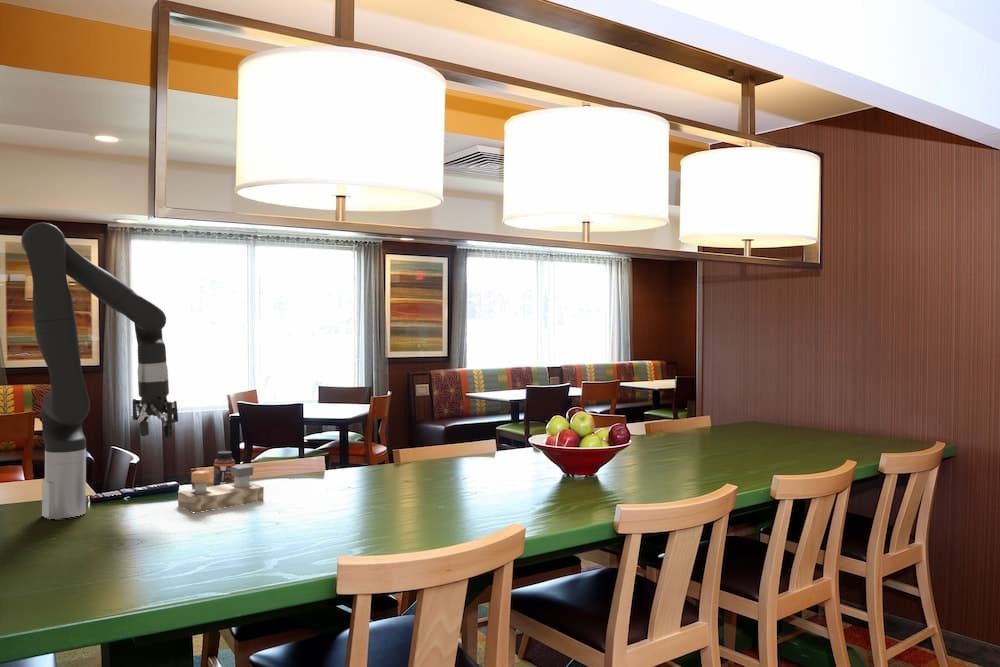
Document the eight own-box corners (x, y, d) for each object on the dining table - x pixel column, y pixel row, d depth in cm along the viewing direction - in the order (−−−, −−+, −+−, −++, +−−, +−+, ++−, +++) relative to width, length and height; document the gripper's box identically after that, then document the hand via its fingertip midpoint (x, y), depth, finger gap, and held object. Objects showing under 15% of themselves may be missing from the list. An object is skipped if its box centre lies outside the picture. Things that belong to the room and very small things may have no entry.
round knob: (196, 498, 200) (196, 475, 200) (188, 495, 203) (188, 472, 203) (212, 495, 204) (212, 472, 203) (205, 492, 207) (205, 469, 207)
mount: (194, 513, 197) (194, 498, 197) (178, 506, 204) (178, 491, 204) (263, 500, 212) (263, 486, 212) (246, 494, 219) (246, 480, 218)
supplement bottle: (227, 492, 221) (227, 454, 220) (209, 490, 222) (209, 453, 221) (238, 487, 226) (238, 450, 226) (220, 486, 228) (221, 449, 227)
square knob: (238, 491, 209) (238, 468, 209) (230, 488, 212) (231, 466, 212) (252, 488, 212) (253, 466, 212) (245, 486, 215) (245, 464, 215)
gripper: (122, 379, 203) (125, 437, 204) (161, 382, 197) (164, 442, 199) (145, 375, 210) (148, 432, 211) (183, 378, 204) (186, 436, 206)
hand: (156, 436), depth 205 cm, fingers open, 8 cm apart
